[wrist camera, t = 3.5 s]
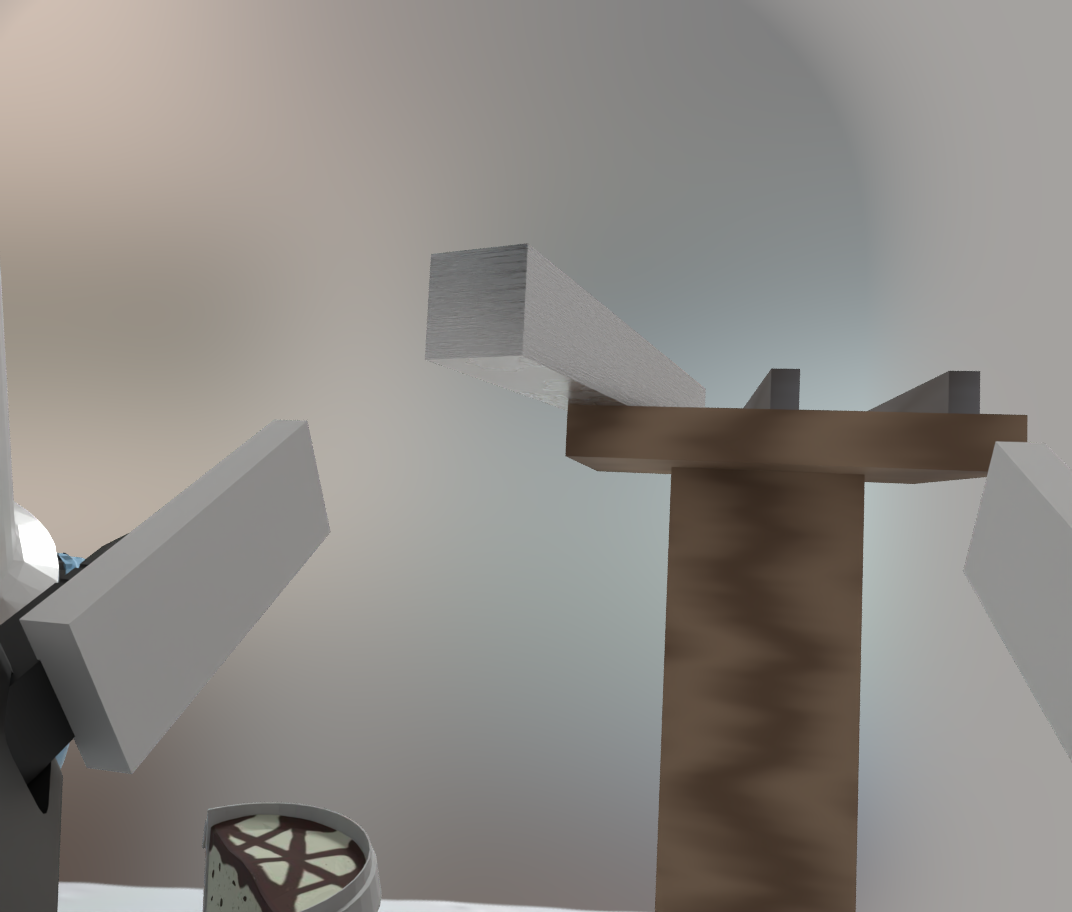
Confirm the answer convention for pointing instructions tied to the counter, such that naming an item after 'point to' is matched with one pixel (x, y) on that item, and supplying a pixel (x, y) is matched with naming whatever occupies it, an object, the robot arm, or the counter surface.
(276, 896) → the food container
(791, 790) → the walnut shelf
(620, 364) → the steel bar
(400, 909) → the counter surface
